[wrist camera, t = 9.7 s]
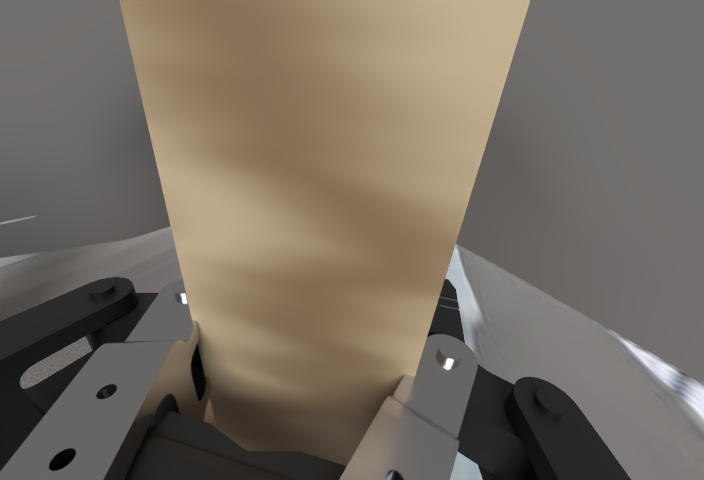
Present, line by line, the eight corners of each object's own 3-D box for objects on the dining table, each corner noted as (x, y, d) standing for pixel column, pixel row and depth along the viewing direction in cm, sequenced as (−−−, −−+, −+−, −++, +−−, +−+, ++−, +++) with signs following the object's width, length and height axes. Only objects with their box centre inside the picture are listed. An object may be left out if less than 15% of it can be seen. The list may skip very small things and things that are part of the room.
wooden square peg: (239, 528, 12) (31, -388, 2) (288, 412, 16) (280, -81, 7) (355, 570, 11) (681, -498, 2) (374, 437, 16) (497, -76, 6)
